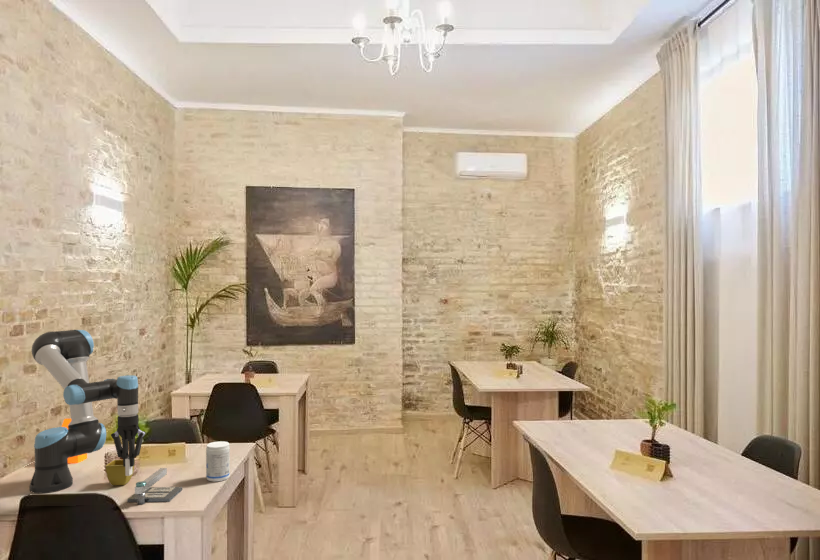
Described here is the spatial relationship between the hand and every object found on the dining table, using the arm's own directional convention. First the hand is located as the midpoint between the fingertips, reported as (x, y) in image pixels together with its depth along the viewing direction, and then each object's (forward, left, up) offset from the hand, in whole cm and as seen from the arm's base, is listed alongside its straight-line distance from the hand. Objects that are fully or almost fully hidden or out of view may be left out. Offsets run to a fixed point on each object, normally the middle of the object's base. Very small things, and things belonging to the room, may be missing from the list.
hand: (129, 474), depth 233 cm
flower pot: (-9, +12, -8) cm, 17 cm away
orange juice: (-48, +46, -8) cm, 67 cm away
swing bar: (+10, -2, -3) cm, 10 cm away
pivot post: (+10, -11, -8) cm, 16 cm away
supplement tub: (+30, +17, -8) cm, 35 cm away
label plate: (+12, -3, -8) cm, 14 cm away
